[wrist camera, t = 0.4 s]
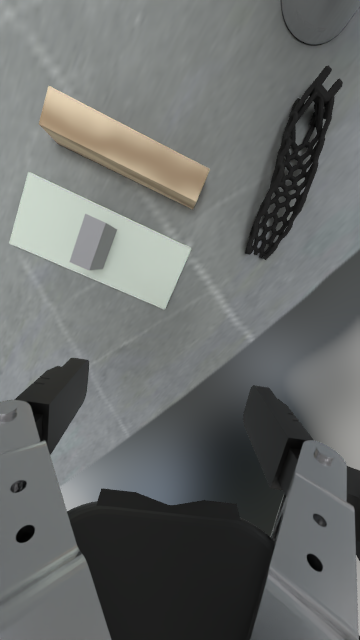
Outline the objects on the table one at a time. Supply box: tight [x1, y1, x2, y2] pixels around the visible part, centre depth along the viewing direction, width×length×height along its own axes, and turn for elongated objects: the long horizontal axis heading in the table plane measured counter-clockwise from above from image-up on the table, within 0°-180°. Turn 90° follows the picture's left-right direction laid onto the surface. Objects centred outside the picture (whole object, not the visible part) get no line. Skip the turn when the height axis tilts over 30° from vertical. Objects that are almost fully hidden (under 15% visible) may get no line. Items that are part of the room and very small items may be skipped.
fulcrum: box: [9, 172, 192, 310], centre depth 32 cm, size 10×24×7 cm, turn 66°
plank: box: [39, 86, 210, 209], centre depth 30 cm, size 4×20×5 cm, turn 66°
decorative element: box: [245, 66, 343, 260], centre depth 31 cm, size 22×5×6 cm, turn 164°
